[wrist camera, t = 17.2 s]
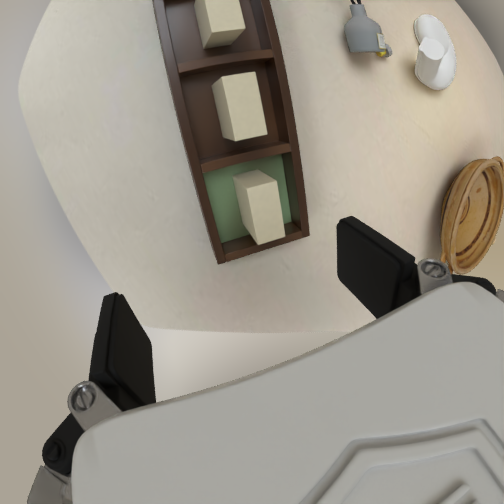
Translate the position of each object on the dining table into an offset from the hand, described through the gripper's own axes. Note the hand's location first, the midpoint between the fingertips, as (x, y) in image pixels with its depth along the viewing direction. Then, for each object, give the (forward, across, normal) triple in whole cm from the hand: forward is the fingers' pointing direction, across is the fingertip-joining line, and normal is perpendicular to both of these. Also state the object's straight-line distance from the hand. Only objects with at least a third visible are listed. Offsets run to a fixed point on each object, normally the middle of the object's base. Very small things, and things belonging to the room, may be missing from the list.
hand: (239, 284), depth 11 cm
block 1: (+21, -6, -17) cm, 27 cm away
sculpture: (+21, -40, -14) cm, 47 cm away
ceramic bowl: (+20, -49, +16) cm, 55 cm away
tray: (+21, -6, -6) cm, 23 cm away
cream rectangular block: (+20, -6, +4) cm, 22 cm away
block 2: (+21, -6, -6) cm, 22 cm away
